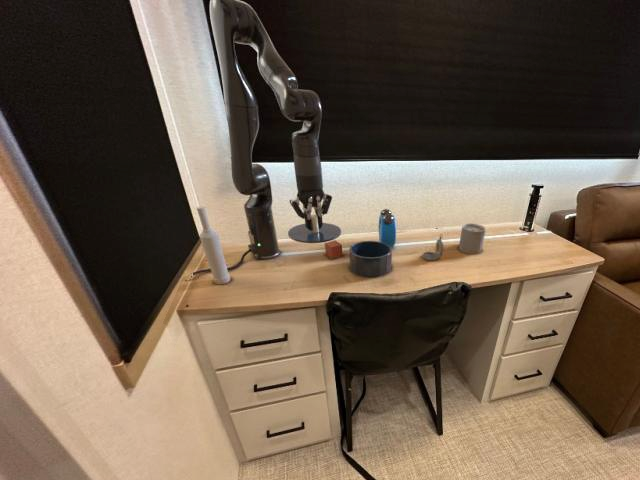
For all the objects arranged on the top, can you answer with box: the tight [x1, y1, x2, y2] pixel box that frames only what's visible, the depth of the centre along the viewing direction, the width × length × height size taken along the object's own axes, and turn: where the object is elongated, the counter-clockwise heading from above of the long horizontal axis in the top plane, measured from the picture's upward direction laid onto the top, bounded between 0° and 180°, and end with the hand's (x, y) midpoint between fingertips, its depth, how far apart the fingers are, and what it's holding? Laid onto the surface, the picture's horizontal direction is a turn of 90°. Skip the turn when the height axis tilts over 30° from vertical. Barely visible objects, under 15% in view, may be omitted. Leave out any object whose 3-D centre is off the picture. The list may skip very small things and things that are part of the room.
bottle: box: [196, 206, 231, 285], centre depth 100 cm, size 5×5×25 cm
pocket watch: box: [422, 233, 444, 261], centre depth 127 cm, size 8×8×10 cm
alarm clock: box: [378, 208, 397, 249], centre depth 134 cm, size 13×6×15 cm, turn 9°
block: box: [324, 240, 343, 260], centre depth 126 cm, size 5×5×5 cm
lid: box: [287, 214, 342, 244], centre depth 100 cm, size 17×17×6 cm
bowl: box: [348, 240, 393, 278], centre depth 118 cm, size 16×16×8 cm
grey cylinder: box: [458, 223, 487, 255], centre depth 138 cm, size 13×10×10 cm
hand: (314, 228), depth 101 cm, fingers closed on lid, 2 cm apart
